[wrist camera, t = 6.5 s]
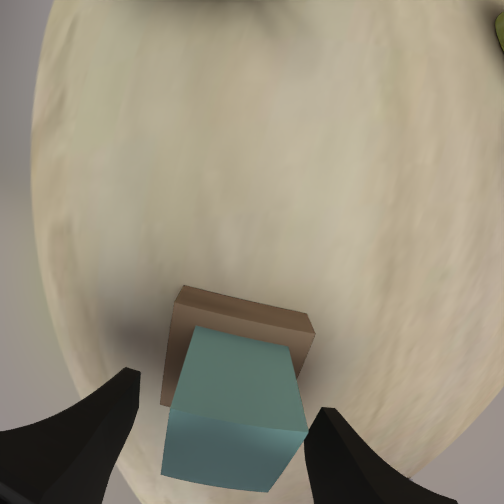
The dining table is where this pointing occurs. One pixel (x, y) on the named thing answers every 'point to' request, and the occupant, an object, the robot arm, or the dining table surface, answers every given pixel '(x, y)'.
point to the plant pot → (500, 29)
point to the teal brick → (233, 413)
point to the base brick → (230, 329)
